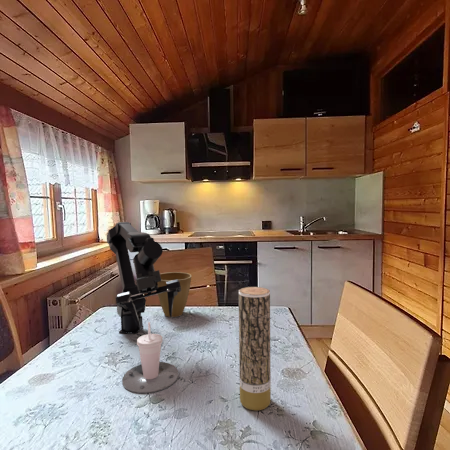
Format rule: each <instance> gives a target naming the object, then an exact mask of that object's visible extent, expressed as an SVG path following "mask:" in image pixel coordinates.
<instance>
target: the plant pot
mask: <svg viewBox="0 0 450 450" xmlns="http://www.w3.org/2000/svg"><path fill="white" fill-rule="evenodd" d="M160 276H161V281H159V282H157V284H158V287H162V286H166V285H167V284H166V282H169V281H172V280H176V279H177V280H179V282H180V286H181V291H180V292H177V294H178V295H176V296H174V301H173V306H172V317H171V318H177V317H180V316H182V315H183V314H184V311H185V308H186V304H187V301H188V299H189V298H188V297H189V295H190V294H189V293H190V290H191V289H190V287H191V282H192V281H191V280H192V274H190V273H188V272H181V271H180V272H177V271H172V272H162V273H160ZM157 298H158V300H159V303H160V307H161V310H162V312H163V315H164V316H165V317H167V318H168V317H169V318H170V314H169V306H168V295H167V292H164V293H160V294H157Z"/></svg>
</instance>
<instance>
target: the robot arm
mask: <svg viewBox="0 0 450 450" xmlns="http://www.w3.org/2000/svg"><path fill="white" fill-rule="evenodd" d="M131 223H132V222H129V221H121V222H120V221H119V222H116V223H115V226H113V227H111V228H110V229H109V230H108V232H107V234H106V242H107V244H108V245H109V249H110V251H111V252H113V253H114V254H115V256H116V264H117V268H118V269H117V270H118V273H119V278H120V283H121V287H122V288H121V289H122V290H121V292H120V293H118V294H117V295H116V296H115V302H116V305H117V306H116V313H117V315H118V316H119V317H120V330H118V333H119V334H135V335H136V334H137V333H139V332H140V331H141V330H142V329H143V328H144V325H143V316H142V313H145V311H146V304H147V303H146V301H147V299H146V298H147V297H152V296H156V295H158V294H160V293H164V292H167V295H168V306H169V314H170V317H169V318H170V319H171V318H173V317H172V306H173V301H174V296H176V295H178V294H177V292H180V291H181V286H180V282H179V280H177V279H176V280H172V281H169V282H166V284H167V285H166V286H162V287H158V284H157V282H159V281H161V276H160V274H161V272H160V270H159V269H158V270H155V265H154V264H155V263H157V261H158V260H159V259H160V258H161V256H162V254H163V252H164V251H163V247H162V246H161V244H160V243H159V242H157V241H155V238H154V237H152V236H151V235H150V233H147V232H142V231H139V230H138V229H136V228H135V227H134V226H133V225H132V224H131ZM130 253H132V254H133V253H136V254H135V255H134V256H133V258H132V259H133V260H132V263H133V266H134V271H135V276H134V272H133V268H132V264H131V258H130ZM135 277H136V279H135Z"/></svg>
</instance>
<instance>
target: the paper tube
mask: <svg viewBox="0 0 450 450" xmlns="http://www.w3.org/2000/svg"><path fill="white" fill-rule="evenodd" d="M238 354H239V355H238V356H239V357H238V358H239V359H238V361H239V365H238V366H239V370H238V371H239V401H240V403H241V405H242V407H244V408H246V409H247V410H250V411H262V410H265V409H267V408H268V407H269V406H270V404H271V402H272V401H271V400H272V399H271V396H272V395H271V391H272V390H271V387H272V386H271V385H272V384H271V383H272V382H271V380H272V379H271V377H272V376H271V372H272V371H271V367H272V366H271V365H272V364H271V292H270V289H268V288H265V287H263V286H262V287H261V286H246V287H242V288H240V289H238Z"/></svg>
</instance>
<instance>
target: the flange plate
mask: <svg viewBox="0 0 450 450" xmlns="http://www.w3.org/2000/svg"><path fill="white" fill-rule="evenodd" d="M179 373H180V372H179V369H178V368H177V367H176V366H175V365H173V364H172V363H169V362H163V361H160V362H159V372H158V376H157V377H156V378H154V379H145V378H144V377H143V371H142V364H138V365H136V366H134V367H133V368H130V369H128V371H126V372H125V373H124V375H123V376H122V379H121V380H122V387H123V388H124V389H125V390H127V391H129V392H131V393H133V394H134V393H135V394H152V393H153V394H154V393H157V392H160V391H163V390H166V389H168V388H169V387H171V386H173V385H174V384H175V383H176V382H177V381H178V379H179V375H180V374H179Z"/></svg>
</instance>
